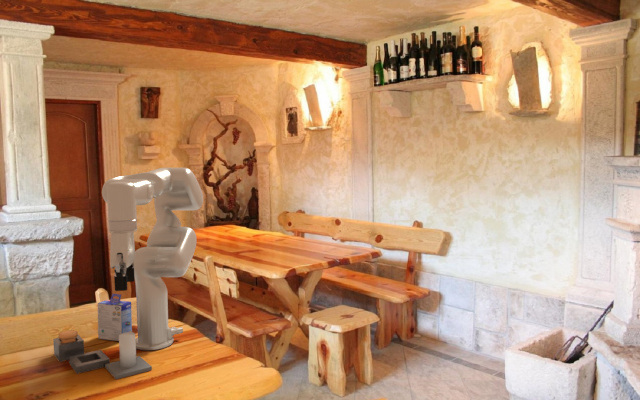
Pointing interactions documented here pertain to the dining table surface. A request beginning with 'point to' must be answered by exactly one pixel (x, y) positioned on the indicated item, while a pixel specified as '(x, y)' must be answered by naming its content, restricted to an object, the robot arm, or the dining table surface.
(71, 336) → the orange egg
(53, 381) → the dining table surface
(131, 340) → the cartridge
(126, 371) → the mat
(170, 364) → the dining table surface
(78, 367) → the collar
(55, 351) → the housing
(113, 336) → the ink cartridge box
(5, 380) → the dining table surface
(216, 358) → the dining table surface
